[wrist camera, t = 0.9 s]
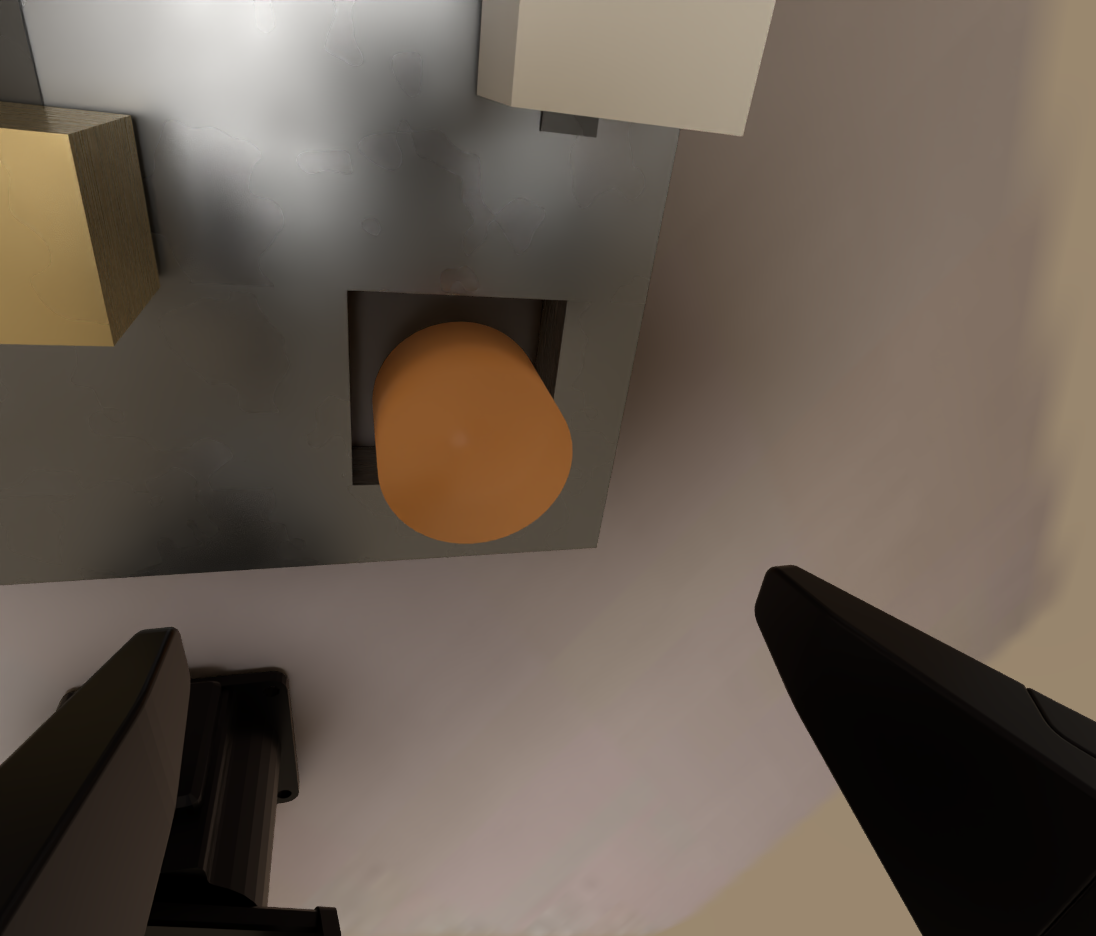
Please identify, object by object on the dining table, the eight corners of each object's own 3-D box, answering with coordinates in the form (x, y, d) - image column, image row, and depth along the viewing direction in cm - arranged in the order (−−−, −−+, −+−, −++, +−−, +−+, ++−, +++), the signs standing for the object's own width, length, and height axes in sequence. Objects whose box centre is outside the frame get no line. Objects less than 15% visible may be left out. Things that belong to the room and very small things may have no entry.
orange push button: (529, 470, 18) (558, 538, 15) (373, 474, 16) (377, 548, 14) (548, 324, 16) (585, 375, 13) (371, 318, 14) (376, 373, 12)
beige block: (666, 120, 14) (742, 136, 11) (476, 94, 13) (511, 106, 10) (701, -62, 12) (798, -92, 10) (489, -108, 11) (533, -157, 9)
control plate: (577, 509, 22) (597, 549, 20) (-54, 538, 17) (-100, 594, 15) (776, -627, 11) (861, -759, 9) (-889, -1461, 6) (-1405, -2093, 4)
